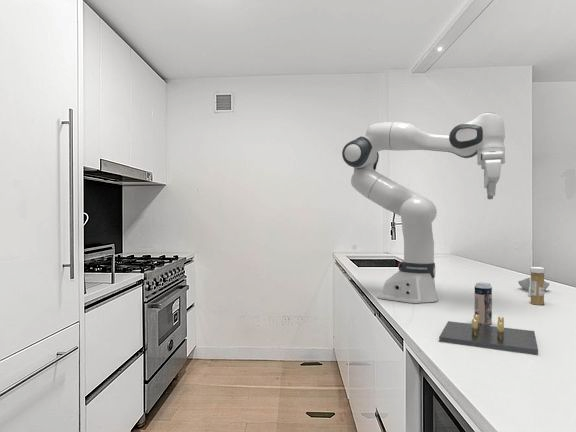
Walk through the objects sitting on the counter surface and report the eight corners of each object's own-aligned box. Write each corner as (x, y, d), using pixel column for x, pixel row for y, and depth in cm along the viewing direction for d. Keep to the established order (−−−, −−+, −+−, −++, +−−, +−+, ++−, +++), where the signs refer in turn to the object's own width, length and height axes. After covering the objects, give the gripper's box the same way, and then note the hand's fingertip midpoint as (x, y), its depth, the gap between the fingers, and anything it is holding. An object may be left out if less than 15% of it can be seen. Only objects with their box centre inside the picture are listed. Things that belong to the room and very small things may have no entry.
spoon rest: (517, 287, 192) (517, 271, 192) (548, 289, 186) (548, 273, 186) (518, 296, 171) (519, 278, 171) (553, 299, 165) (553, 281, 165)
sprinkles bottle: (545, 305, 153) (546, 268, 153) (531, 304, 154) (531, 267, 154) (542, 303, 157) (542, 266, 157) (528, 302, 159) (528, 266, 159)
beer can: (490, 326, 124) (491, 285, 124) (473, 324, 127) (473, 284, 127) (492, 322, 128) (493, 283, 128) (475, 320, 131) (475, 281, 131)
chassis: (439, 341, 110) (439, 321, 110) (448, 325, 126) (448, 307, 126) (538, 354, 100) (538, 332, 99) (534, 335, 115) (534, 316, 115)
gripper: (479, 164, 161) (479, 201, 160) (482, 152, 142) (483, 194, 141) (498, 164, 159) (498, 201, 158) (503, 151, 140) (504, 193, 139)
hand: (491, 197), depth 149 cm, fingers open, 8 cm apart
